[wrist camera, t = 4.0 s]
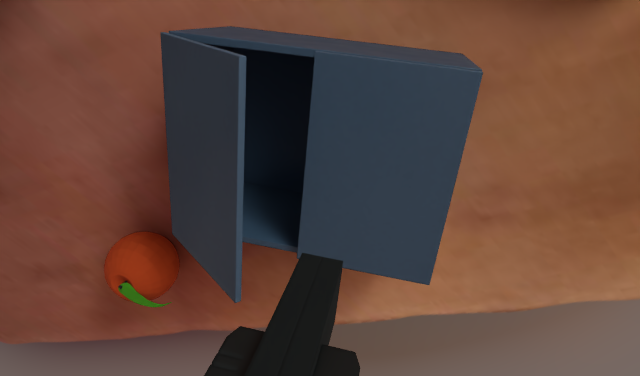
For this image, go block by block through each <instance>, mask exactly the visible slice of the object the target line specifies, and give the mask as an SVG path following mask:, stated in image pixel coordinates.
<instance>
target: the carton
mask: <svg viewBox="0 0 640 376" xmlns="http://www.w3.org/2000/svg"><path fill="white" fill-rule="evenodd" d="M169 33H170V34H173V35H176V36H180V37H183V38H186V39H190V40H193V41H197V42H200V43H203V44H207V45H210V46H213V47H217V48H220V49H224V50H227V51H230V52H234V53H237V54H241V55H244V56H246V97H245V142H244V187H243V232H242V242H246V243H251V244H256V245H261V246H266V247H271V248H276V249H281V250H286V251H291V252H296V253H297V259H300V257H301V254H302V253H307V254H312V255H316V256H321V257H326V258H331V259H336V260H341V261H343V266H342V268H346V269H351V270H356V271H361V272H366V273H371V274H376V275H381V276H386V277H391V278H396V279H401V280H406V281H411V282H416V283H421V284H426V285H429V284H430V280H431V276H432V273H433V269H434V265H435V261H436V257H437V253H438V249H439V245H440V241H441V237H442V233H443V229H444V225H445V221H446V217H447V213H448V209H449V205H450V201H451V197H452V193H453V189H454V185H455V181H456V178H457V174H458V170H459V166H460V162H461V158H462V154H463V150H464V146H465V142H466V138H467V134H468V130H469V126H470V122H471V118H472V114H473V110H474V106H475V102H476V98H477V94H478V90H479V86H480V82H481V79H482V75H483V72H482V69H480V68H479V67H478V66H477V65H476V64H474V63H473V62H472V61H471V60H469V59H468V58H467V57H466V56H465V55H463V54H460V53H451V52H443V51H434V50H426V49H417V48H409V47H400V46H392V45H384V44H375V43H367V42H358V41H350V40H341V39H333V38H324V37H316V36H308V35H299V34H291V33H282V32H274V31H265V30H257V29H248V28H240V27H232V26H229V27H216V28H203V29H190V30H176V31H169Z"/></svg>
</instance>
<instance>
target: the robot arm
mask: <svg viewBox="0 0 640 376" xmlns="http://www.w3.org/2000/svg"><path fill="white" fill-rule="evenodd" d="M342 266H343V261H341V260H336V259H331V258H326V257H321V256H316V255H312V254H307V253H302V254H301V257H300V259H299V261H298V263H297V265H296V267H295V269H294V271H293V274H292V276H291V278H290V280H289V282H288V284H287V286H286V288H285V291H284V293H283V295H282V297H281V299H280V301H279V303H278V305H277V307H276V310H275V312H274V314H273V316H272V318H271V320H270V322H269V324H268V327H267V329H266V331H265V332H263V331H259V330H255V329H250V328H246V327H242V326H240V327H239V328H237V329H236V330H235V331H233V332H232V333H231V334H230V335H228V336H227V337H226V339H225V341H224V343H223V344H222V346H221V348H220V350H219V352H218V353H217V355H216V356H215V358H214V360H213V361H212V364H211V365H210V366H209V368H208V370H207V372H206V373H205V375H204V376H359V372H360V366H359V362H358V359H357V356H356V353H355V352H353V351H348V350H344V349H340V348H336V347H331V346H328V344H329V341H330V337H331V333H332V329H333V325H334V322H335V315H336V308H337V301H338V294H339V287H340V280H341V273H342Z"/></svg>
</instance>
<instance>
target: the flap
mask: <svg viewBox="0 0 640 376" xmlns="http://www.w3.org/2000/svg"><path fill="white" fill-rule="evenodd" d="M161 49H162V66H163V83H164V100H165V117H166V134H167V152H168V169H169V186H170V203H171V220H172V234H173V235H174V236H175V237H176V238H177V239H178V241H179V242H180V243H181V244H182V245H183V246H184V247H185V248H186V249H187V250H188V252H189V253H190V254H191V255H192V256H193V257H194V258H195V259H196V260H197V261H198V263H199V264H200V265H201V266H202V267H203V268H204V269H205V270H206V271H207V272H208V274H209V275H210V276H211V277H212V278H213V279H214V280H215V281H216V282H217V283H218V285H219V286H220V287H221V288H222V289H223V290H224V291H225V292H226V293H227V295H228V296H229V297H230V298H231V299H232V300H233V301H234V302H235V303H237V302H239V301H241V277H242V232H243V187H244V142H245V97H246V56H244V55H241V54H237V53H234V52H230V51H227V50H224V49H220V48H217V47H213V46H210V45H207V44H203V43H200V42H197V41H193V40H190V39H186V38H183V37H180V36H176V35H173V34H170V33H165V32H161Z"/></svg>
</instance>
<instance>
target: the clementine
mask: <svg viewBox="0 0 640 376" xmlns="http://www.w3.org/2000/svg"><path fill="white" fill-rule="evenodd" d="M179 267H180V264H179V257H178V254H177V250H176V249H175V247H174V245H173V244H172V243H171V242H170V241H169V240H168V239H167V238H165V237H164V236H162V235H159V234H156V233H152V232H136V233H132V234H129V235H127V236H125V237H123V238H122V239H120V240H119V241H118V242H117V243H116V244H115V245H114V246H113V247H112V248H111V249H110V251H109V253H108V255H107V257H106V260H105V265H104V273H105V279H106V282H107V284H108V285H109V287H110V288H111V290H112V291H113V292H114V293H115V294H117V295H118V296H120V297H121V298H123V299H125V300H128V301H132V302H135V303H137V304H140V305H144V306H149V307H161V306H165V305H167V304H169V303H167V304H156V303H154V302H151V301H150V300H153V299H155V298H158V297H160V296H161V295H163V294H164V293H165V292H166V291H168V290H169V289H170V287H171V286H172V285H173V283H174V282H175V280H176V278H177V275H178V272H179ZM170 303H172V302H170Z"/></svg>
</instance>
